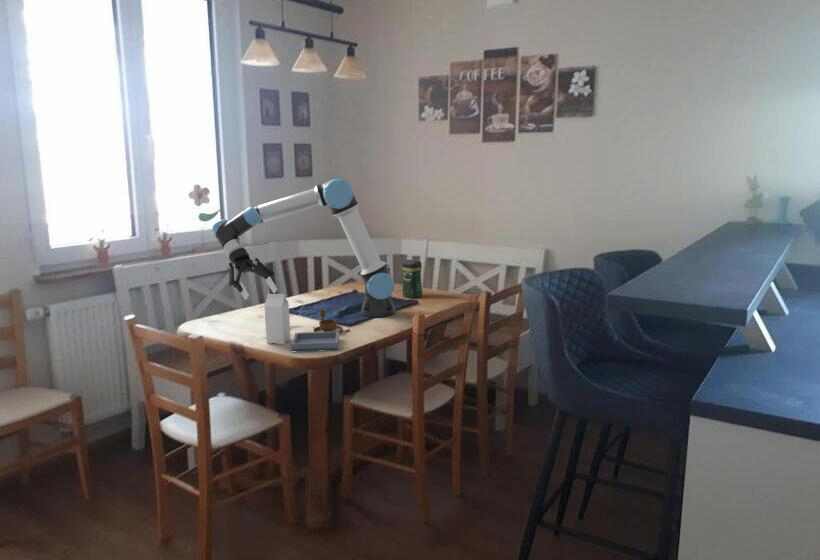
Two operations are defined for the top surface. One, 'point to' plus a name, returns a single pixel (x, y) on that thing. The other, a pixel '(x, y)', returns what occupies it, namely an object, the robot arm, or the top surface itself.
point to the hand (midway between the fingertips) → (261, 294)
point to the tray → (315, 341)
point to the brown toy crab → (328, 325)
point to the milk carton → (277, 319)
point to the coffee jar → (412, 278)
